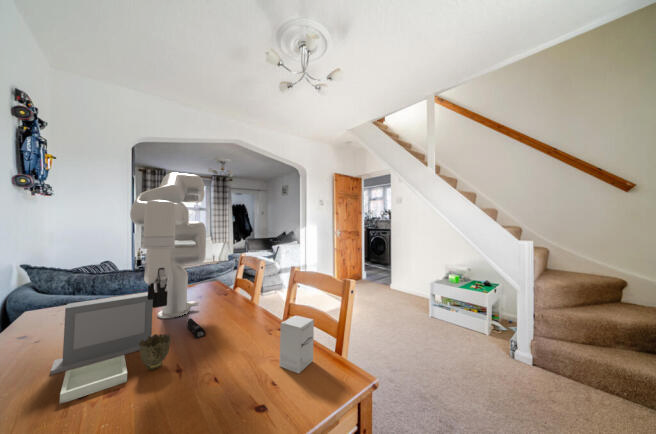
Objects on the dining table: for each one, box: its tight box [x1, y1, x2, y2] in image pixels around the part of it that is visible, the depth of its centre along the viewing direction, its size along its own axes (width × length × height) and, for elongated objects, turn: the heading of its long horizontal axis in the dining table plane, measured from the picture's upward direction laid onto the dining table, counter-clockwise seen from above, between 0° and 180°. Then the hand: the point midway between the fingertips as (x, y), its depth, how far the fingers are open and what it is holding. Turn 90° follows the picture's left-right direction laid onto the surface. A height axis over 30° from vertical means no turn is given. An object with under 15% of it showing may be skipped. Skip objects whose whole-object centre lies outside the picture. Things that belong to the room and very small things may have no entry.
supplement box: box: [279, 315, 315, 374], centre depth 70 cm, size 7×7×13 cm
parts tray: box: [59, 354, 128, 405], centre depth 62 cm, size 12×12×2 cm
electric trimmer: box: [186, 317, 206, 340], centre depth 92 cm, size 4×16×3 cm, turn 43°
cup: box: [139, 333, 172, 371], centre depth 68 cm, size 8×7×8 cm
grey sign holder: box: [50, 291, 154, 375], centre depth 75 cm, size 24×7×17 cm, turn 133°
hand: (156, 302), depth 68 cm, fingers open, 9 cm apart
